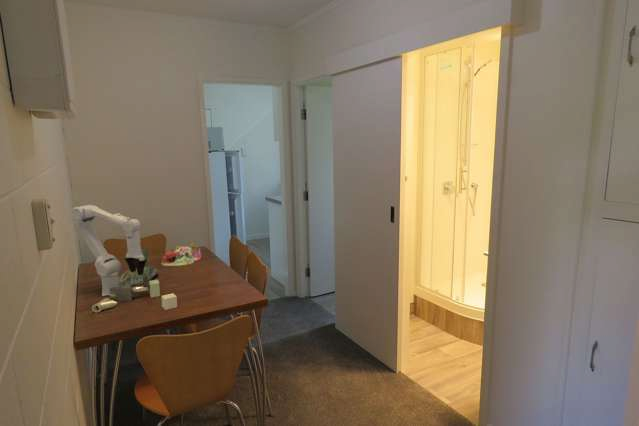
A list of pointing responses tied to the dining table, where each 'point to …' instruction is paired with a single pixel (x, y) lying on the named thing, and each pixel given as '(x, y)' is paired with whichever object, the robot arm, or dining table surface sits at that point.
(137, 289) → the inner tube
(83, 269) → the dining table surface
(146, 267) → the tree stump
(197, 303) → the dining table surface
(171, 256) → the toy food platter
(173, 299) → the cream white cube
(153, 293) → the socket block
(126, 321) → the dining table surface
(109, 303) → the pipe fitting
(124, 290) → the grey boxy piece
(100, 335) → the dining table surface
